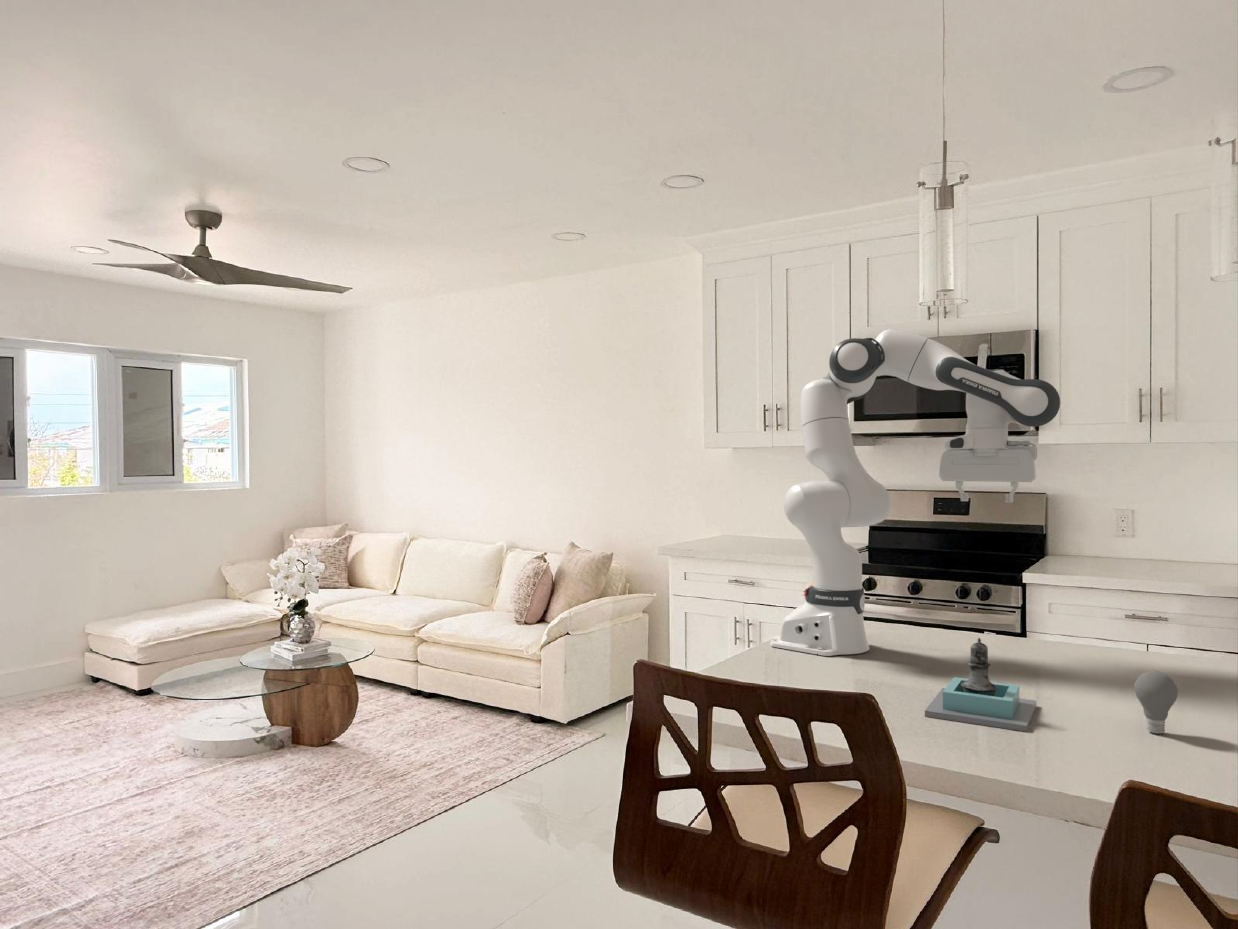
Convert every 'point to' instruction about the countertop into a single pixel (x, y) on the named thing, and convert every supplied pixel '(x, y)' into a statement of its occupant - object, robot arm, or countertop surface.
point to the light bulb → (1155, 698)
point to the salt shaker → (979, 672)
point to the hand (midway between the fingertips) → (986, 501)
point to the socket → (983, 706)
